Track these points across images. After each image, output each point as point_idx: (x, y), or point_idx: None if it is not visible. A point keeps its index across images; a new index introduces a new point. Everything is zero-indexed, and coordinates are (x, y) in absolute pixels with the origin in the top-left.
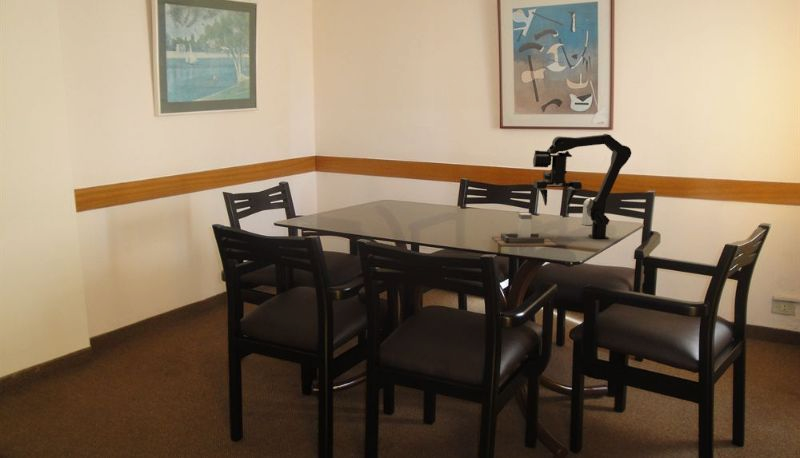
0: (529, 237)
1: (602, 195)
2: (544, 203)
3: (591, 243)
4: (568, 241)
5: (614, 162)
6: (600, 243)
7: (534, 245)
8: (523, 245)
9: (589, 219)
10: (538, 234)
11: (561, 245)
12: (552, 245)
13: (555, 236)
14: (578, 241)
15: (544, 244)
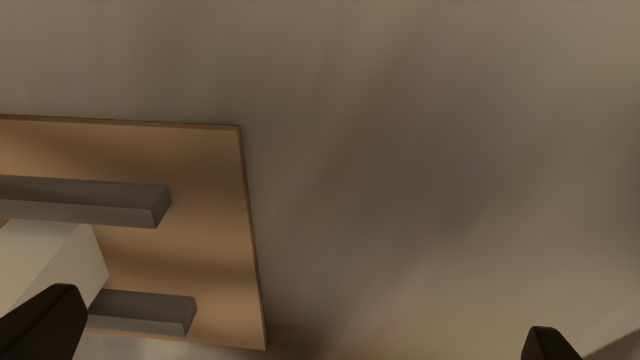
0: (88, 298)
1: None
2: (28, 314)
3: (541, 310)
4: (397, 247)
5: None
6: (613, 316)
7: (136, 334)
8: None
9: None
10: (154, 227)
11: (303, 329)
12: (240, 345)
13: (358, 63)
14: (478, 253)
15: (194, 333)
